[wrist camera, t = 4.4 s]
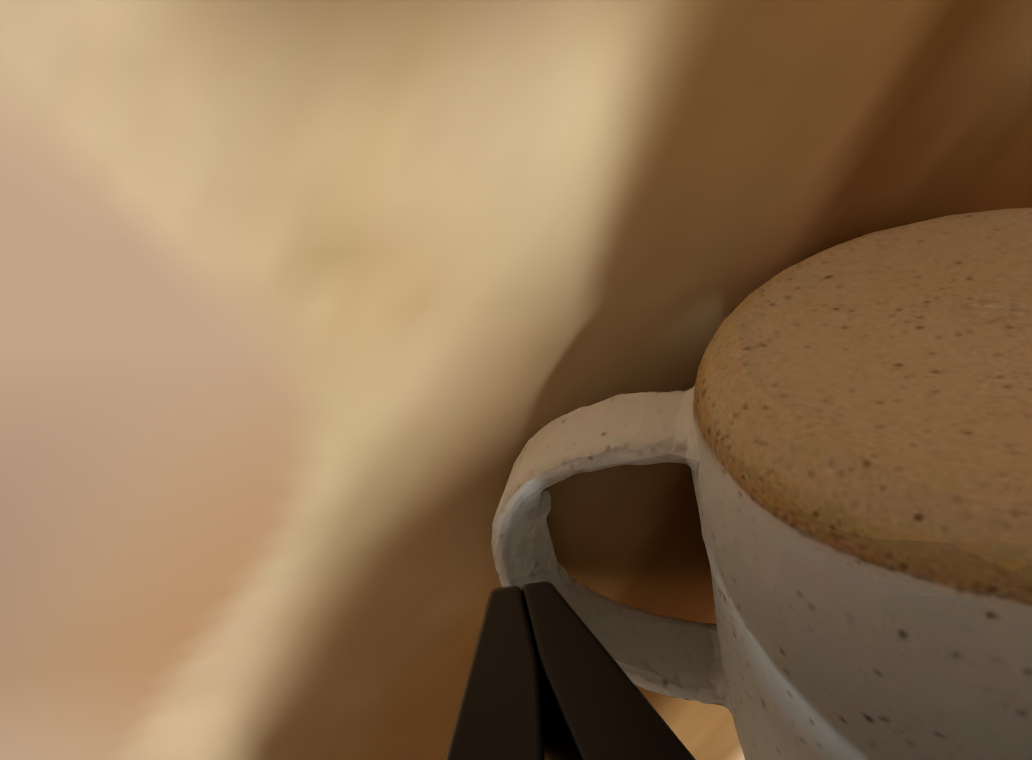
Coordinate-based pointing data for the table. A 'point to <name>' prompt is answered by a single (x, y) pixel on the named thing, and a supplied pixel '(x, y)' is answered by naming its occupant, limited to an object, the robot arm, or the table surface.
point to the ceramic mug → (838, 502)
